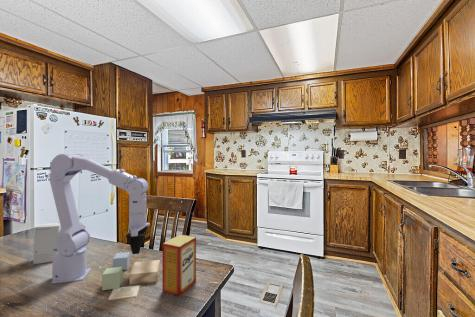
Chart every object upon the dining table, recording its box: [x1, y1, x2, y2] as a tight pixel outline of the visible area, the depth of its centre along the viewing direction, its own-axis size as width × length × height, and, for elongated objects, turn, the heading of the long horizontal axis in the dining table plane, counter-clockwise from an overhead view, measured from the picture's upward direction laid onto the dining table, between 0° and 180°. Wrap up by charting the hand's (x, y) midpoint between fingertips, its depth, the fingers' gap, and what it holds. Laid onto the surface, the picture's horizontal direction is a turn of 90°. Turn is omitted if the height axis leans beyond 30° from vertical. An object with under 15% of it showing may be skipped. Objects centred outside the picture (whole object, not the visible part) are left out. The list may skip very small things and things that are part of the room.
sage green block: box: [101, 267, 123, 291], centre depth 78 cm, size 5×5×5 cm
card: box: [108, 284, 141, 301], centre depth 74 cm, size 8×6×1 cm
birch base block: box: [129, 259, 161, 285], centre depth 84 cm, size 9×9×4 cm
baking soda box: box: [161, 234, 197, 297], centre depth 78 cm, size 10×6×16 cm
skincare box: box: [32, 222, 61, 265], centre depth 96 cm, size 8×6×15 cm
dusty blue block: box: [112, 251, 131, 271], centre depth 90 cm, size 5×5×5 cm
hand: (137, 249), depth 84 cm, fingers open, 7 cm apart
